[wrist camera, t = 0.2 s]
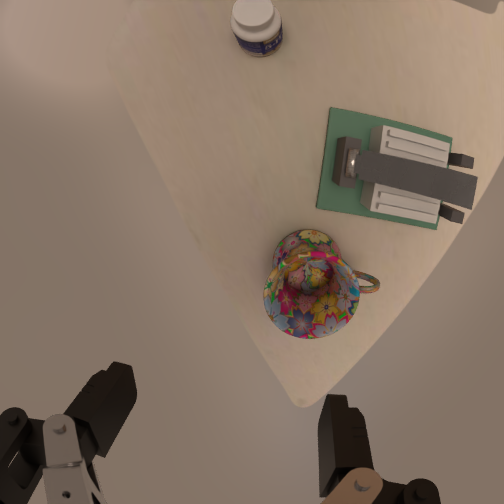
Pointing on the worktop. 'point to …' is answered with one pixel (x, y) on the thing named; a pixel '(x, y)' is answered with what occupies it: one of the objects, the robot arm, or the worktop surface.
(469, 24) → the worktop surface
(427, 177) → the strap
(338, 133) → the heatsink base
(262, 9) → the pill bottle
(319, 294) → the mug
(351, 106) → the worktop surface
